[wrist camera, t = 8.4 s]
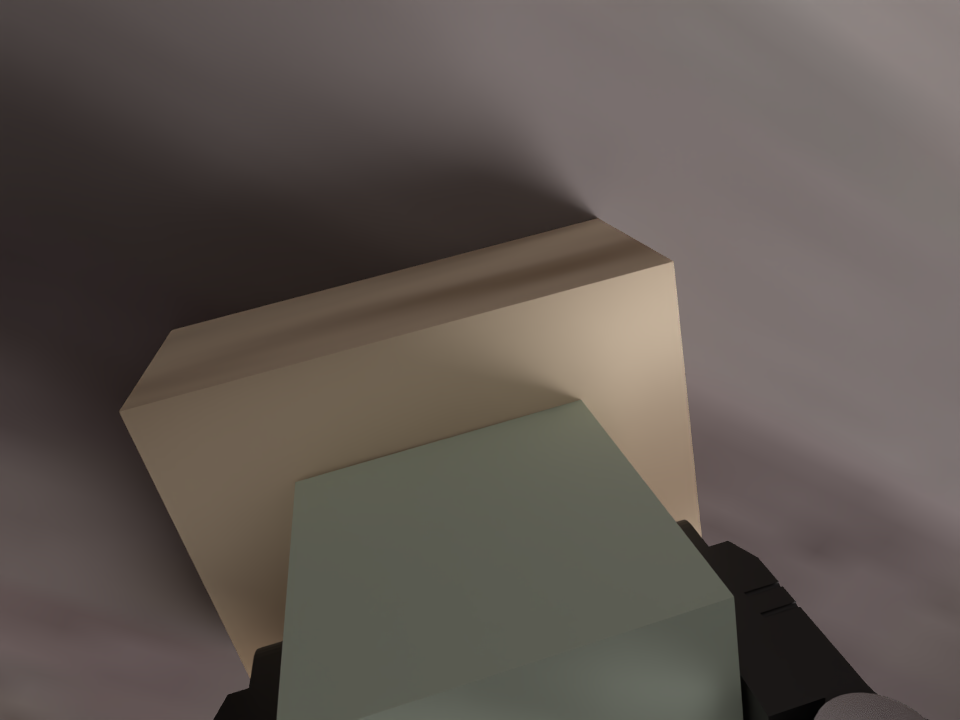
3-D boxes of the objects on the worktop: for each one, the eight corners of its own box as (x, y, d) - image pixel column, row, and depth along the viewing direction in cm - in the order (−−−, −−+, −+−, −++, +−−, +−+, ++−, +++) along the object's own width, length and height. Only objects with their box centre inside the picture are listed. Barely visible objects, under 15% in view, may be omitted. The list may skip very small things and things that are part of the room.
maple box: (174, 324, 14) (119, 411, 11) (592, 215, 15) (673, 261, 11) (311, 643, 18) (303, 787, 14) (641, 542, 19) (713, 656, 15)
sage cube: (294, 481, 12) (274, 747, 7) (581, 399, 12) (734, 597, 8) (375, 692, 14) (399, 1002, 9) (617, 614, 14) (754, 871, 10)
